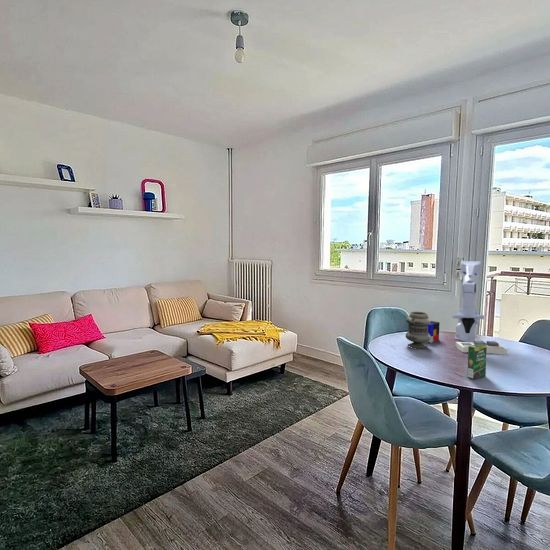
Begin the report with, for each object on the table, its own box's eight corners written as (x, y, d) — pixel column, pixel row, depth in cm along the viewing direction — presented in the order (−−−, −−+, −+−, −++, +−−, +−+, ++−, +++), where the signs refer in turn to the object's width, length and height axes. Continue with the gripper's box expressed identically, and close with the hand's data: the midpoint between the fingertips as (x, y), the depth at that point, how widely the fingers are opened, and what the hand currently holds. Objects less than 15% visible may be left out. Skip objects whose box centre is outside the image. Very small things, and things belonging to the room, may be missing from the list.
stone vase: (410, 350, 178) (411, 315, 176) (401, 343, 190) (402, 310, 188) (434, 350, 178) (435, 314, 176) (423, 343, 190) (425, 310, 188)
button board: (462, 352, 174) (462, 346, 174) (455, 346, 184) (455, 341, 184) (506, 354, 171) (507, 348, 171) (497, 348, 181) (497, 342, 181)
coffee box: (473, 380, 138) (474, 347, 137) (466, 377, 141) (467, 345, 140) (486, 376, 142) (487, 344, 141) (479, 374, 144) (480, 342, 143)
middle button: (476, 347, 177) (477, 342, 177) (473, 345, 181) (473, 340, 181) (485, 347, 176) (485, 343, 176) (482, 345, 180) (482, 340, 180)
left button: (463, 349, 178) (464, 345, 178) (460, 347, 182) (461, 342, 182) (472, 350, 178) (472, 345, 177) (469, 348, 181) (469, 343, 181)
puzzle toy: (430, 343, 191) (430, 324, 191) (412, 339, 199) (413, 321, 198) (438, 339, 198) (439, 322, 197) (421, 336, 205) (422, 319, 205)
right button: (489, 348, 176) (490, 343, 176) (486, 345, 180) (486, 341, 180) (498, 348, 175) (498, 343, 175) (494, 346, 179) (495, 341, 179)
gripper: (455, 307, 175) (454, 334, 176) (487, 308, 173) (486, 335, 174) (451, 304, 182) (450, 330, 183) (481, 305, 180) (480, 331, 181)
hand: (467, 332), depth 179 cm, fingers closed
